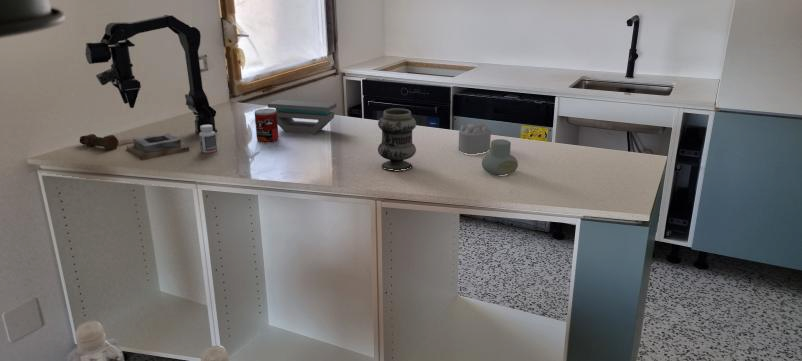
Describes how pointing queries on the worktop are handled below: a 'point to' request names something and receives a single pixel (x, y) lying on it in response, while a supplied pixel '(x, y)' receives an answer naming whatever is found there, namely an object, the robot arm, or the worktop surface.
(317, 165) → the worktop surface
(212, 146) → the pill bottle
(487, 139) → the lumpy-topped squat cylinder
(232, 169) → the worktop surface
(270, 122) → the canned food
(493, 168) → the air freshener
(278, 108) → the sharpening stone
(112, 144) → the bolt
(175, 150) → the collar board
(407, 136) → the apothecary jar
